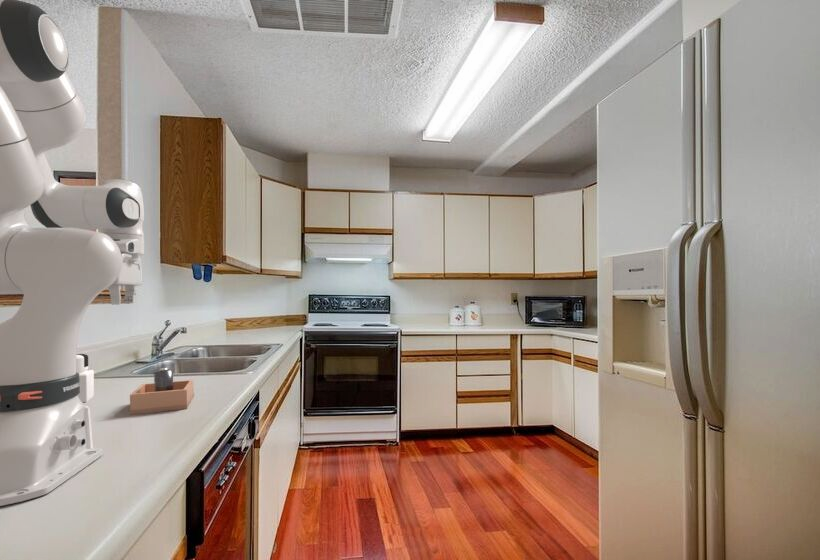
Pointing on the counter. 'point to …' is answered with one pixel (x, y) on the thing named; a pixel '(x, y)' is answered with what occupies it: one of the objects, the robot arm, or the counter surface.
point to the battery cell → (163, 380)
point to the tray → (161, 398)
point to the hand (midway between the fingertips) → (122, 304)
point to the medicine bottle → (84, 378)
